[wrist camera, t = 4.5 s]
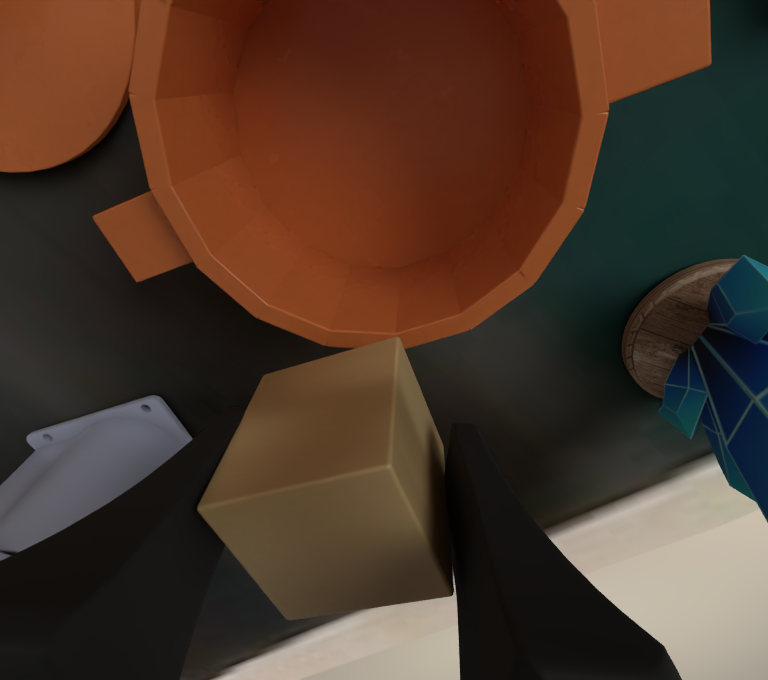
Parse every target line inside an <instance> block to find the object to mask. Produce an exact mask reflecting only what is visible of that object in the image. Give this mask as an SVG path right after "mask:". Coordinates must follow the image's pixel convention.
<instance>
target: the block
mask: <svg viewBox="0 0 768 680" xmlns="http://www.w3.org/2000/svg"><path fill="white" fill-rule="evenodd" d="M444 474H445V463H444V450H443V444H442V441H441V439H440V436H439V434H438V431H437V429H436V427H435V424H434V422H433V419H432V417H431V414H430V412H429V409H428V407H427V404H426V402H425V399H424V397H423V394H422V392H421V389H420V387H419V384H418V382H417V380H416V377H415V375H414V372H413V370H412V367H411V365H410V362H409V360H408V357H407V355H406V352H405V350H404V347H403V345H402V342H401V340H400V338H399V337H393V338H390V339H386V340H383V341H379V342H376V343H372V344H369V345H366V346H362V347H359V348H355V349H352V350H348V351H345V352H341V353H338V354H335V355H331V356H328V357H324V358H321V359H317V360H314V361H310V362H307V363H304V364H300V365H297V366H293V367H290V368H286V369H283V370H279V371H276V372H273V373H269V374H266V375H264V376H263V377H262V379H261V381H260V383H259V385H258V387H257V389H256V391H255V393H254V395H253V397H252V399H251V401H250V403H249V405H248V407H247V409H246V411H245V413H244V416H243V418H242V420H241V422H240V424H239V426H238V428H237V430H236V432H235V433H234V435H233V437H232V439H231V441H230V443H229V445H228V446H227V448H226V450H225V452H224V454H223V456H222V458H221V460H220V462H219V464H218V466H217V468H216V470H215V472H214V474H213V476H212V478H211V480H210V482H209V484H208V486H207V488H206V490H205V492H204V494H203V496H202V498H201V500H200V502H199V504H198V506H197V511H198V513H199V514H200V515H201V516H202V517H203V519H204V520H205V521H206V522H207V524H208V525H209V526H210V527H211V528H212V530H213V531H214V532H215V533H216V534H217V536H218V537H219V538H220V539H221V541H222V542H223V543H224V544H225V545H226V547H227V548H228V549H229V550H230V551H231V553H232V554H233V555H234V556H235V558H236V559H237V560H238V561H239V562H240V564H241V565H242V566H243V567H244V568H245V570H246V571H247V572H248V573H249V575H250V576H251V577H252V578H253V579H254V581H255V582H256V583H257V584H258V585H259V587H260V588H261V589H262V590H263V592H264V593H265V594H266V595H267V596H268V598H269V599H270V600H271V601H272V602H273V604H274V605H275V606H276V607H277V609H278V610H279V611H280V612H281V613H282V615H283V616H284V617H285V618H286V619H287V620H295V619H302V618H308V617H315V616H322V615H329V614H335V613H342V612H349V611H355V610H362V609H369V608H375V607H382V606H389V605H395V604H402V603H409V602H415V601H422V600H429V599H435V598H442V597H449V596H452V595H453V592H454V588H453V574H452V560H451V547H450V533H449V519H448V511H447V503H446V490H445V476H444Z"/></svg>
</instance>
